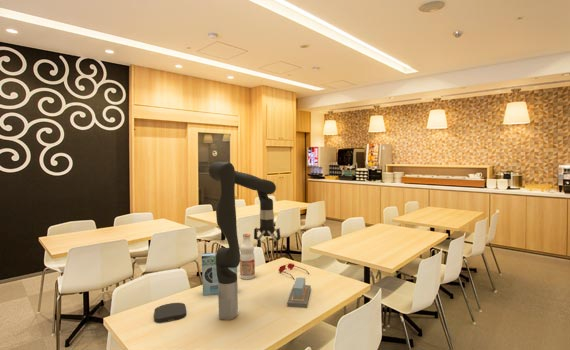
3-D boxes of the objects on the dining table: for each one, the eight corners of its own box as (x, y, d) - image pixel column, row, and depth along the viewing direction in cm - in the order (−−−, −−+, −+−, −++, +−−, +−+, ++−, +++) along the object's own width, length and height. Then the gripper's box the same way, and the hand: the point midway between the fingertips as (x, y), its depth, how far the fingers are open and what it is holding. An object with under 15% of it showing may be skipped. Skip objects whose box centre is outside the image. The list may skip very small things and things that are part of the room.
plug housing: (302, 299, 167) (302, 288, 167) (293, 298, 168) (292, 287, 168) (306, 283, 188) (306, 274, 187) (298, 283, 188) (297, 273, 188)
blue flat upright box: (237, 289, 186) (236, 251, 185) (237, 293, 181) (236, 253, 180) (203, 292, 183) (202, 252, 182) (202, 295, 178) (201, 255, 177)
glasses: (293, 268, 221) (293, 261, 221) (310, 275, 209) (310, 267, 209) (277, 273, 212) (277, 266, 212) (294, 280, 200) (294, 272, 200)
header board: (306, 307, 162) (306, 297, 162) (287, 306, 164) (287, 295, 164) (310, 288, 186) (310, 279, 186) (293, 287, 188) (293, 278, 187)
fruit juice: (237, 276, 207) (236, 234, 206) (250, 273, 212) (249, 232, 211) (244, 281, 199) (243, 236, 198) (257, 277, 204) (256, 234, 203)
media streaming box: (154, 311, 162) (154, 305, 161) (184, 305, 167) (184, 300, 167) (154, 324, 148) (154, 318, 148) (187, 318, 154) (186, 312, 153)
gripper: (252, 218, 170) (252, 248, 171) (278, 219, 168) (278, 249, 168) (255, 216, 177) (256, 244, 178) (280, 216, 175) (281, 245, 176)
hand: (267, 247), depth 173 cm, fingers open, 8 cm apart
